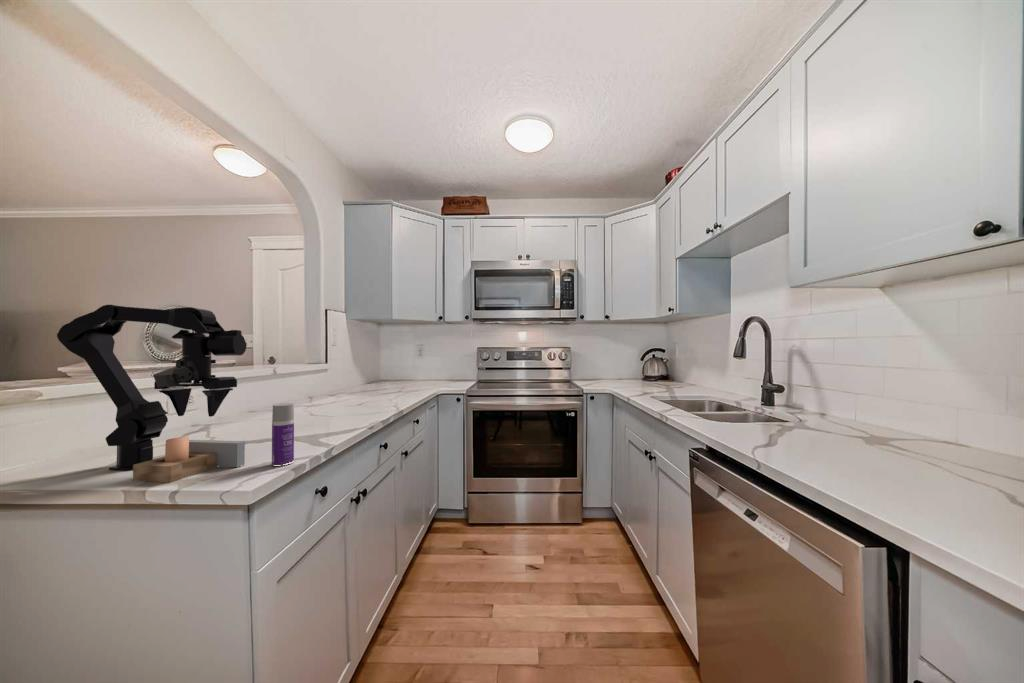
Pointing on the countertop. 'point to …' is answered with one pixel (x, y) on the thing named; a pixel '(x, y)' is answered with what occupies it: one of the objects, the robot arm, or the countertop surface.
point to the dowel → (177, 449)
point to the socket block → (173, 468)
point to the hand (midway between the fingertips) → (196, 416)
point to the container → (282, 433)
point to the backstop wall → (221, 451)
